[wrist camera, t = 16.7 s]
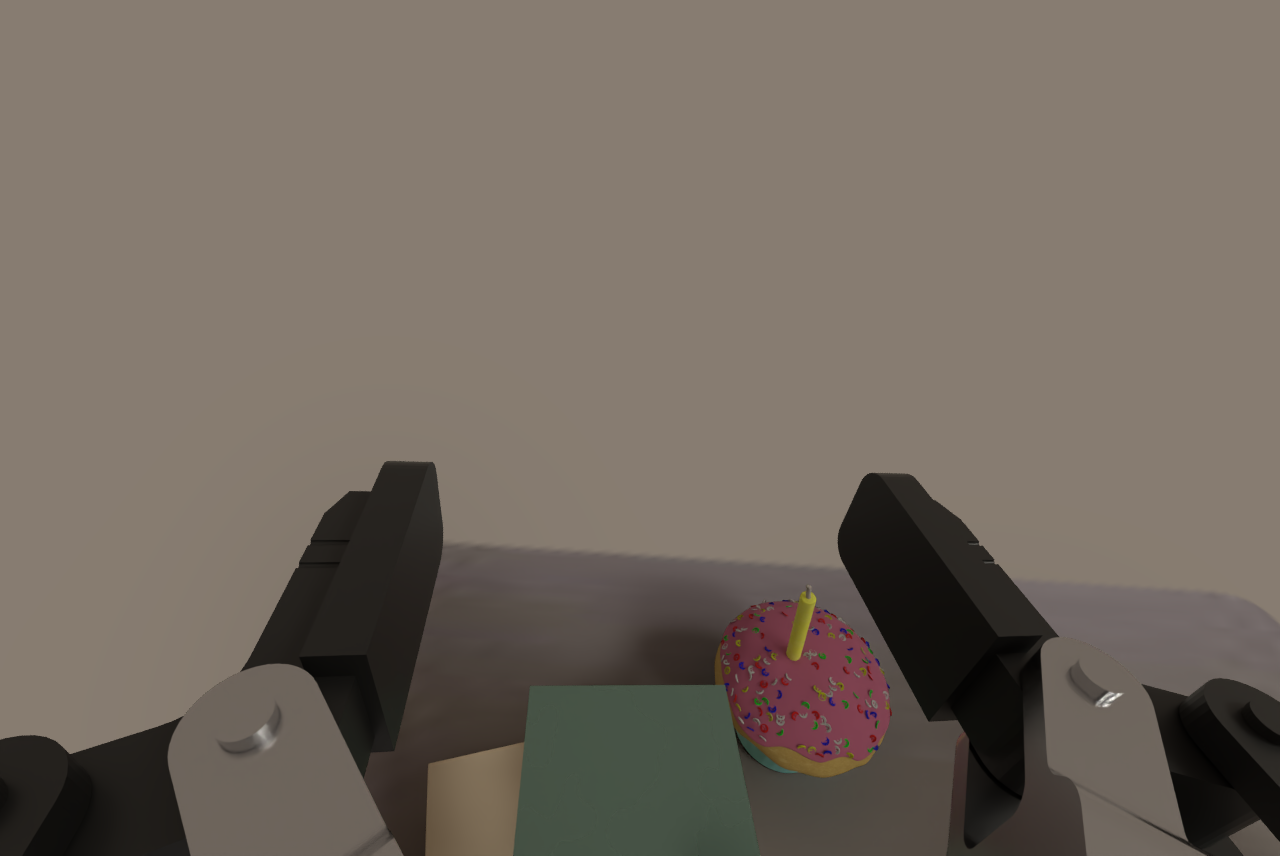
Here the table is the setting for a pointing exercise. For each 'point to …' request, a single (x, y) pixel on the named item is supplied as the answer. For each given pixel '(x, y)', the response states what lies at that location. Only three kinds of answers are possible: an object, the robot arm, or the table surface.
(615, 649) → the table surface
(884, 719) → the cupcake
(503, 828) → the birch box
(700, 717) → the tea tin
